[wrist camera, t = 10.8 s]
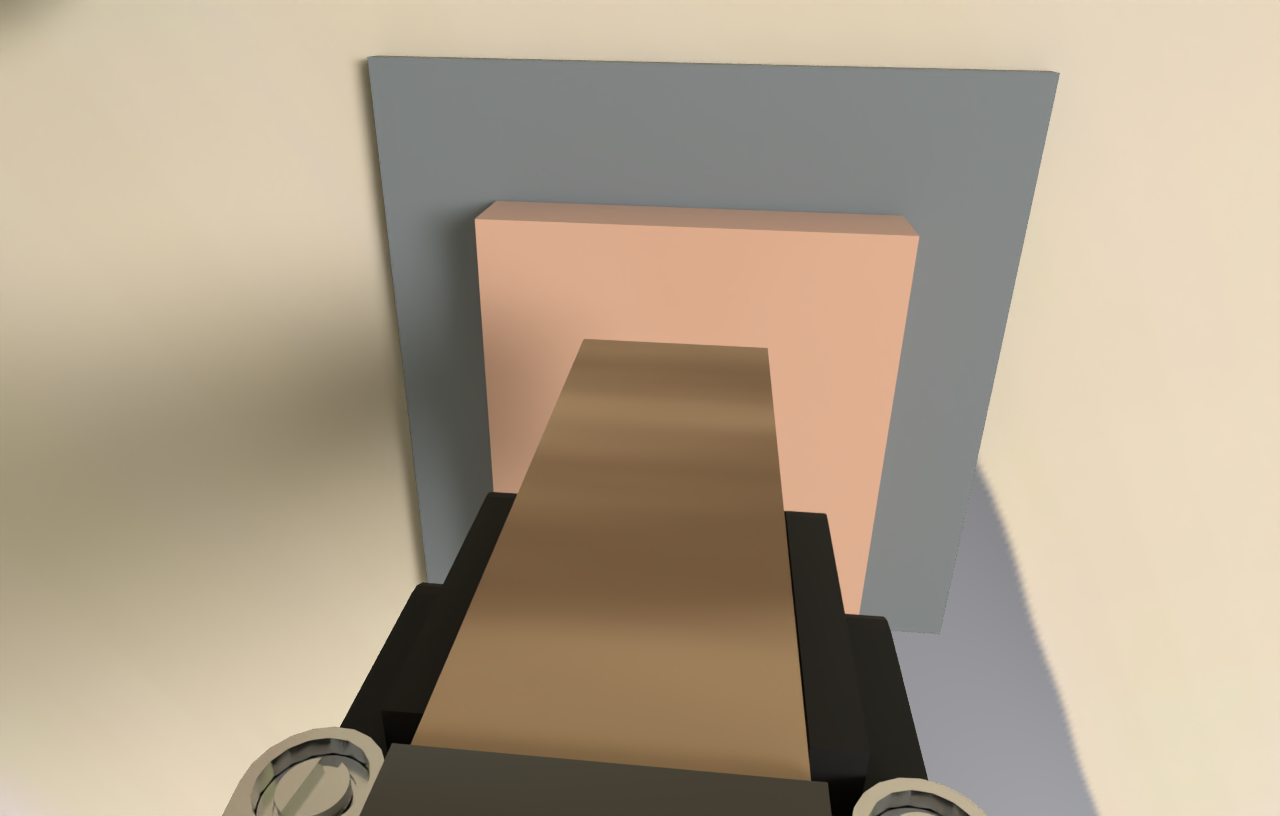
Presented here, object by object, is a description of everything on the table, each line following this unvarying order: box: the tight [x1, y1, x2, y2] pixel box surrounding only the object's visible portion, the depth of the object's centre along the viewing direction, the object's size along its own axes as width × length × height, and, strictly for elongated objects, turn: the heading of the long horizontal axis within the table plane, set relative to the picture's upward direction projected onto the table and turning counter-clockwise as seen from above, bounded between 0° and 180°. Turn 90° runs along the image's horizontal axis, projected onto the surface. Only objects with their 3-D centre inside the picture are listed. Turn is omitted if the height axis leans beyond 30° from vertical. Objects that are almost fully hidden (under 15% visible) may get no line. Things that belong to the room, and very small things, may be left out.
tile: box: [475, 201, 919, 615], centre depth 22 cm, size 2×10×11 cm
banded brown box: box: [359, 339, 832, 816], centre depth 9 cm, size 5×3×14 cm
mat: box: [367, 56, 1060, 634], centre depth 23 cm, size 16×16×1 cm
